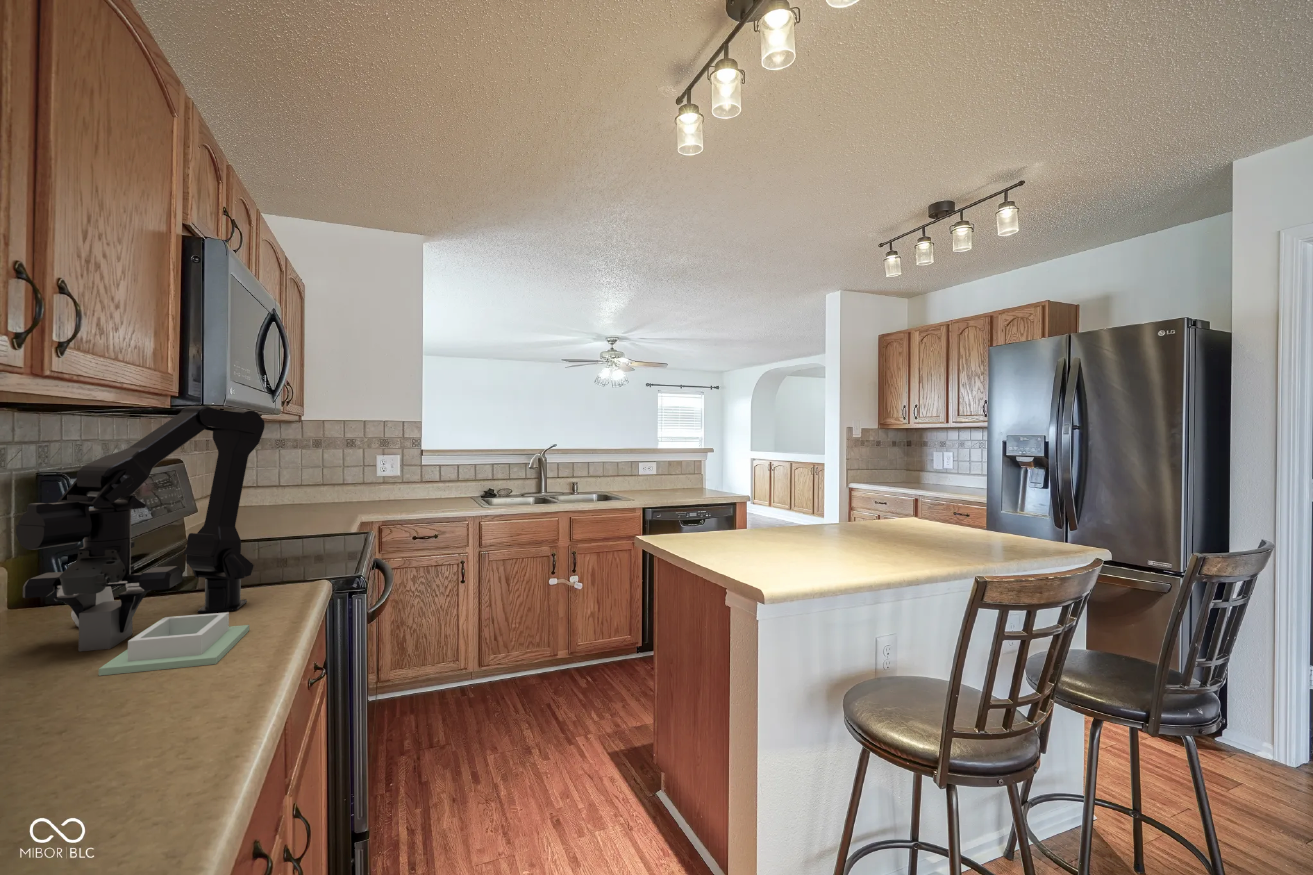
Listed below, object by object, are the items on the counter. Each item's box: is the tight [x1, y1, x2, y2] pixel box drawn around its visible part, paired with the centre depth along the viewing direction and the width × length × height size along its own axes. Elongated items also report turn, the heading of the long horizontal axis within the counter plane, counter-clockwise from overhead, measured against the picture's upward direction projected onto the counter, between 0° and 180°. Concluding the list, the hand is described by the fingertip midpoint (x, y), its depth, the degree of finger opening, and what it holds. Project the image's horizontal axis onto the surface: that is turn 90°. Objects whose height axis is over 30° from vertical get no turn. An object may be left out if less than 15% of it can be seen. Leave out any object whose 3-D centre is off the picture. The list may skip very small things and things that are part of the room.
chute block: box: [78, 599, 134, 652], centre depth 97 cm, size 7×4×6 cm, turn 20°
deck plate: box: [98, 611, 250, 677], centre depth 93 cm, size 16×14×4 cm
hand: (106, 633), depth 97 cm, fingers closed on chute block, 4 cm apart
